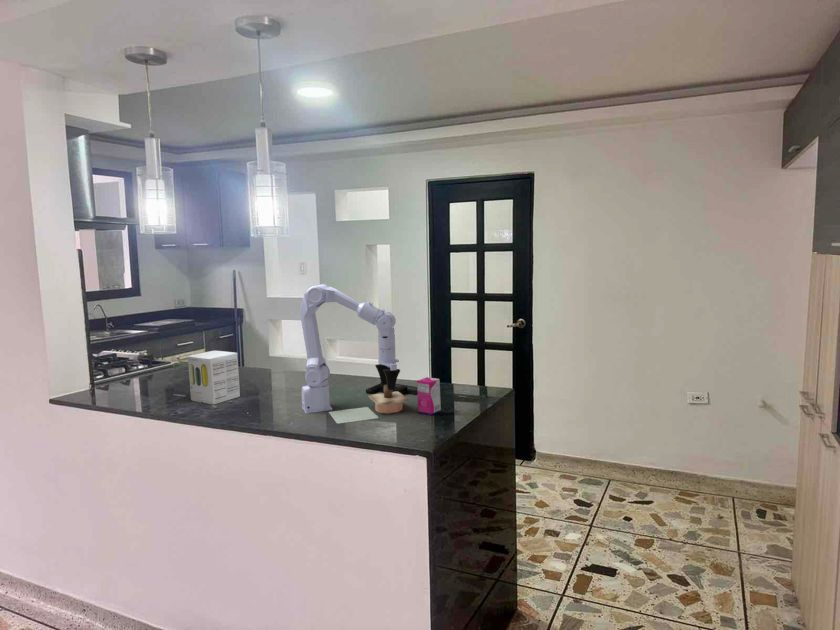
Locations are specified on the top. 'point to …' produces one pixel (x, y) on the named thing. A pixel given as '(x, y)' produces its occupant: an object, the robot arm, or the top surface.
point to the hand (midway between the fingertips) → (387, 386)
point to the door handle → (398, 387)
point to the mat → (352, 415)
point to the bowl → (389, 407)
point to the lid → (388, 397)
